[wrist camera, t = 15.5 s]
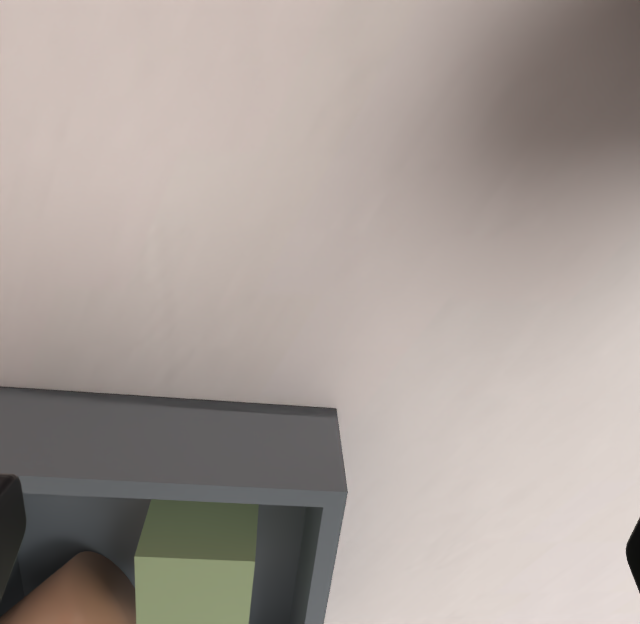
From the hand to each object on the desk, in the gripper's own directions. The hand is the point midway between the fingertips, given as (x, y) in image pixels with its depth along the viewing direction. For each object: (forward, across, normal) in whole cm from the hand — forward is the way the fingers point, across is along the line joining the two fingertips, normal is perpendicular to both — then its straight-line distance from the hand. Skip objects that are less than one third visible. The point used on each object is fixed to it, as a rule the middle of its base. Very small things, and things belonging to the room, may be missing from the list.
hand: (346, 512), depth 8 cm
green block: (+11, +3, +12) cm, 17 cm away
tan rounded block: (+9, +6, +15) cm, 19 cm away
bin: (+12, +5, +14) cm, 19 cm away
